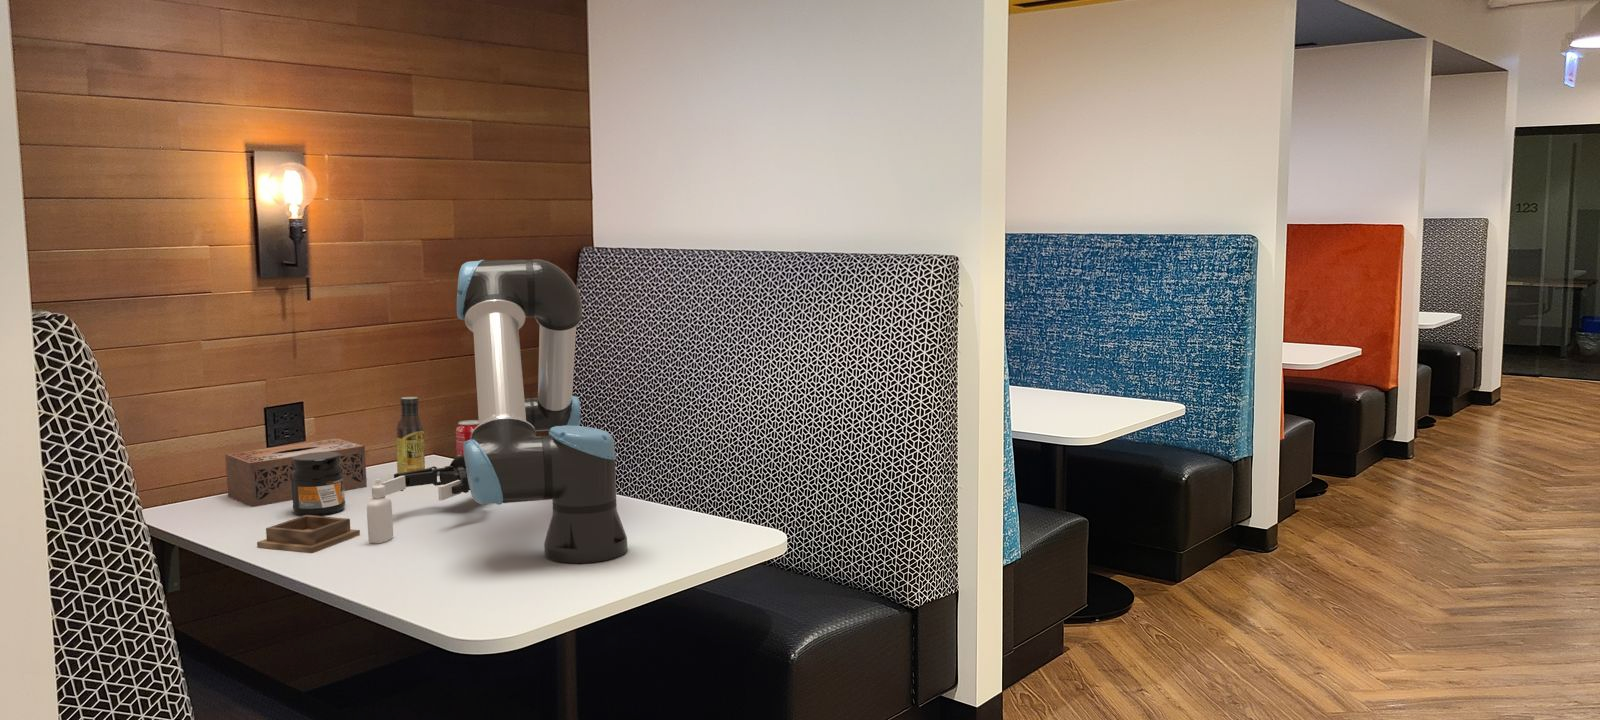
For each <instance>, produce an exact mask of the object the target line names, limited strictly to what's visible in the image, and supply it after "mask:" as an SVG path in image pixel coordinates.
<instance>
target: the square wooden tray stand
mask: <svg viewBox="0 0 1600 720" xmlns="http://www.w3.org/2000/svg"><path fill="white" fill-rule="evenodd" d="M265 535H266V539H262V540H260V541H257V542H256V548H260V549H261V548H262V549H270V550H271V549H272V550H280V551H281V550H282V551H289V552H299V553H300V552H301V553H309V554H313V553H317V552H319V551H321V550H325V549H326V548H329V547H332V546H335V545H338V544H341V543H342V542H345V541H348V540H350V539H353V538H357V537H358V536H360V535H361V532H360V529H351V518H345V517H336V516H335V517H334V516H325V515H321V516H313V515H304V516H302V515H300V516H299V517H296V518H293V519H289V520H287V521H284V522H281V523H277V524H274V525H272V526H268V527H266V528H265Z"/></svg>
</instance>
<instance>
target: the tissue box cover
mask: <svg viewBox="0 0 1600 720" xmlns="http://www.w3.org/2000/svg"><path fill="white" fill-rule="evenodd" d="M365 449H366V448H365V445H362V444H359V443H355V442H351V441H350V440H344V439H342V438H331V439H324V440H323V439H322V440H318V441H317V440H315V441H311V442H302V443H295V444H289V445H282V446H281V445H280V446H275V447H274V446H273V447H267V448H261V449H251V450H246V451H239V452H232V453H225V457H224V458H225V470H226V483H227V486H226V487H227V496H228V498H230V499H233V500H235V501H238V502H240V503H242V504H245V505H247V506H249V507H251V508H256V507H262V506H266V505H273V504H277V503H278V504H279V503H285V502H289V501H293V498H292V482H291V477H290V474H291V472H292V471H293V470H294V468H293V467H292V458H293V457H295V456H297V455H301V454H306V453H314V452H335V453H339V454H340V458H341V463H340V464H339V465H340V466H341V467H342V468H343V470H344V474H343V477H344V492H346V491H354V490H356V489H357V490H359V489H365V488H368V485H367V483H368V482H367V466H366V465H367V464H366V450H365Z"/></svg>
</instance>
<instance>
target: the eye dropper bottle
mask: <svg viewBox="0 0 1600 720" xmlns="http://www.w3.org/2000/svg"><path fill="white" fill-rule="evenodd" d="M381 483H382V482H381V479H380V478H378V479H377V478H376V479H375V484H374V485H373V486H371V497H372V498H371V499H370V500H369V501H368V503H367V504H366V505H367V506H366V518H367V519H366V520H367V536H368V543H369V544H383V543H386V542H388V541H390V540H391V539H393V537H394V522H393V521H394V520H393V518H394V517H393V505H392V503H393V502H392V500H391V498H390V497H387V496H385V486H384V485H382V484H381Z"/></svg>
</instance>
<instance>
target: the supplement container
mask: <svg viewBox="0 0 1600 720" xmlns="http://www.w3.org/2000/svg"><path fill="white" fill-rule="evenodd" d="M340 463H341V458H340V454H339V453H335V452H314V453H306V454H301V455H297V456H295V457H293V458H292V467H293V468H294V470H293V471H292V472H291V474H290V477H291V482H292V498H293V500H292V510H293V513H295V514H296V515H299V516H304V515H313V516H328V515H332V514H337V513H338V512H340V511H342V510H343V509H344V508H345V507H346V498H345V497H346V496H345V491H344V477H343V474H344V470H343V468H342V467H341V466H340V465H339V464H340Z"/></svg>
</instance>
